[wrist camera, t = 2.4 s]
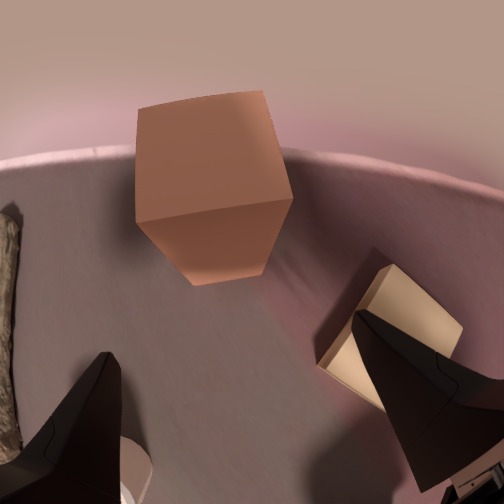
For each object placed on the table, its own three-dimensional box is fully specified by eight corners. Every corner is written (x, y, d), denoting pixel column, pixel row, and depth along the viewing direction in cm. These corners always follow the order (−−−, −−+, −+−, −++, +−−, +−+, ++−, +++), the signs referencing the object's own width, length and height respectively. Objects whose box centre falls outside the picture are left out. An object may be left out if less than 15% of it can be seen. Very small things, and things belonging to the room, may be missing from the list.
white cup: (117, 415, 19) (78, 439, 13) (175, 469, 18) (156, 510, 12) (78, 450, 18) (39, 474, 11) (131, 500, 17) (105, 537, 10)
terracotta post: (261, 274, 23) (293, 198, 10) (193, 285, 23) (135, 223, 9) (249, 212, 25) (262, 90, 11) (186, 222, 24) (138, 109, 11)
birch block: (393, 417, 21) (409, 425, 18) (315, 364, 22) (325, 369, 19) (444, 329, 23) (463, 328, 20) (377, 270, 24) (393, 263, 21)
